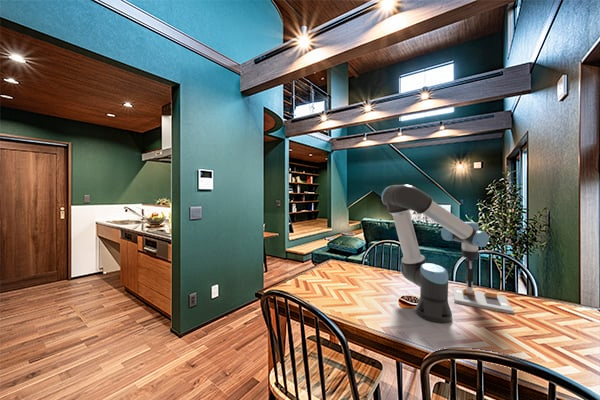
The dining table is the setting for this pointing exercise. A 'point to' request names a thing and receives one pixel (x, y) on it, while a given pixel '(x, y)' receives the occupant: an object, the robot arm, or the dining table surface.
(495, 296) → the tab
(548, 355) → the dining table surface
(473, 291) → the tab
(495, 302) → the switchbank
